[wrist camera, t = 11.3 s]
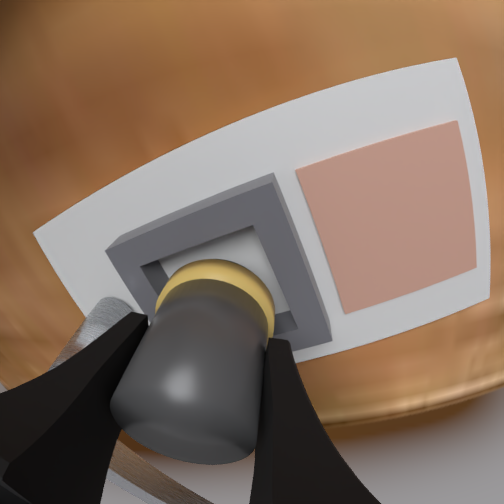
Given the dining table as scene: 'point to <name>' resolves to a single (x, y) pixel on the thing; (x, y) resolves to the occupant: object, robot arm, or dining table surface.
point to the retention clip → (123, 459)
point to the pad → (394, 214)
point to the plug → (200, 366)
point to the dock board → (269, 212)
